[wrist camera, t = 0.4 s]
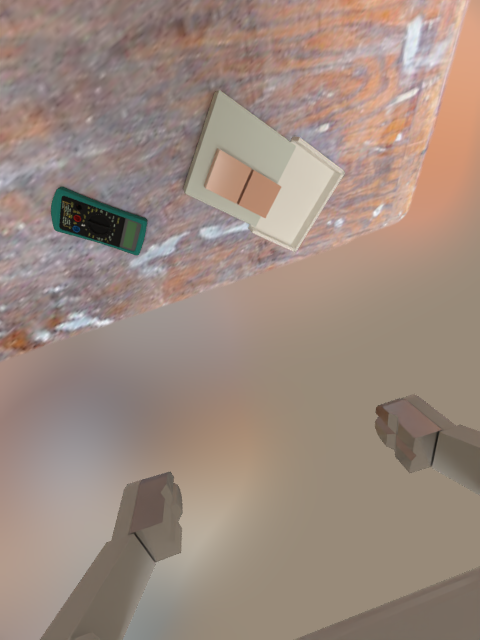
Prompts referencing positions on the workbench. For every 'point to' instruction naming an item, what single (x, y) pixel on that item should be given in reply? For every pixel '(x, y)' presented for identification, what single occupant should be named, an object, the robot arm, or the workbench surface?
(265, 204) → the tile
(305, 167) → the tray
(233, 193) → the tile
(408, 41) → the workbench surface
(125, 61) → the workbench surface
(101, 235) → the digital multimeter
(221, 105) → the board
